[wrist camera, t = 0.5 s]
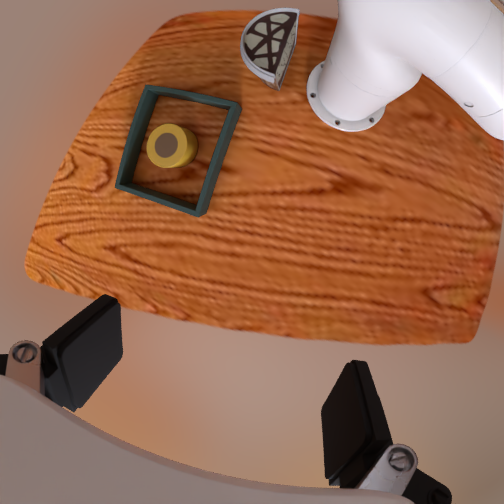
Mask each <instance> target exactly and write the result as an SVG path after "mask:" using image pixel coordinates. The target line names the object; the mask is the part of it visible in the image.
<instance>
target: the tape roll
mask: <svg viewBox="0 0 504 504" xmlns="http://www.w3.org/2000/svg"><path fill="white" fill-rule="evenodd" d="M197 151H198V141H197V138H196V136H195V135H194V134H193V133H192V132H191V131H190V130H188V129H186V128H183V127H180V126H178V125H175V124H163V125H160V126H159V127H157V128H156V129H155V130H154V131H153V132H152V133H151V135H150V136H149V138H148V141H147V154H148V157H149V158H150V160H151V161H152V162H153V163H154V164H155V165H157V166H159V167H165V168H179V167H184V166H186V165H188V164H189V163H191V162H192V161H193V159H194V158H195V156H196V154H197Z"/></svg>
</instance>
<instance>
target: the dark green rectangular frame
mask: <svg viewBox="0 0 504 504" xmlns="http://www.w3.org/2000/svg"><path fill="white" fill-rule="evenodd" d="M158 95H162V96H168V97H173V98H178V99H183V100H188V101H193V102H198V103H202V104H206V105H211V106H215V107H219V108H223V109H227V110H229V112H228V114H227V117H226V120H225V122H224V125H223V128H222V131H221V133H220V136H219V139H218V142H217V145H216V148H215V151H214V153H213V156H212V159H211V162H210V165H209V168H208V171H207V175H206V178H205V181H204V184H203V187H202V190H201V194H200V197H199V200H198V203H197V205H195V204H192V203H189V202H187V201H184V200H181V199H178V198H175V197H172V196H169V195H166V194H163V193H160V192H157V191H155V190H152V189H149V188H146V187H143V186H140V185H137V184H134V183H132V179H133V175H134V171H135V167H136V164H137V160H138V156H139V153H140V149H141V146H142V143H143V139H144V136H145V133H146V130H147V127H148V124H149V121H150V118H151V115H152V112H153V109H154V106H155V103H156V101H157V98H158ZM241 110H242V108H241V107H240V106H239V104H238V103H237V102H233V101H229V100H225V99H221V98H217V97H213V96H208V95H204V94H199V93H194V92H189V91H184V90H178V89H173V88H167V87H160V86H153V85H145V88H144V90H143V93H142V96H141V98H140V101H139V104H138V107H137V109H136V112H135V115H134V118H133V121H132V125H131V128H130V131H129V134H128V138H127V141H126V144H125V148H124V152H123V155H122V159H121V163H120V167H119V171H118V175H117V179H116V184H115V188H117V189H120V190H123V191H126V192H128V193H131V194H134V195H137V196H140V197H143V198H145V199H148V200H151V201H154V202H157V203H160V204H162V205H165V206H168V207H171V208H174V209H176V210H179V211H182V212H185V213H187V214H190V215H193V216H196V217H200V216H202V215H204V214H206V213H207V209H208V206H209V203H210V200H211V197H212V194H213V190H214V187H215V184H216V181H217V178H218V175H219V172H220V169H221V166H222V163H223V160H224V157H225V154H226V152H227V149H228V146H229V143H230V140H231V137H232V135H233V132H234V129H235V126H236V124H237V121H238V118H239V116H240V113H241Z"/></svg>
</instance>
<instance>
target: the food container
mask: <svg viewBox="0 0 504 504" xmlns="http://www.w3.org/2000/svg"><path fill="white" fill-rule="evenodd" d="M299 15H300V11H299V9H295V8H276V9H271V10H268V11H265V12H263V13H261V14H259V15H257V16H256V17H254V18H253V19H252V20H251V21H250V22H249V23H248V25H247V26H246V27H245V29H244V31H243V33H242V36H241V43H240V51H241V56H242V59H243V61H244V62H245V64H246V65H247V67H248V68H249V69H250V70H251V71H252V72H253V73H254V74H256V75H257V76H259V77H260V79H261V80H262V81H263V82H264V83H265V84H266V85H267V86H269V87H270V88H272V89H275V90H277V91H280V88H281V85H282V82H283V79H284V76H285V73H286V71H287V68H288V65H289V62H290V59H291V57H292V54H293V51H294V48H295V45H296V38H297V28H298V17H299Z"/></svg>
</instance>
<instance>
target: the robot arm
mask: <svg viewBox="0 0 504 504" xmlns="http://www.w3.org/2000/svg"><path fill="white" fill-rule="evenodd" d="M499 1H500V2H501V3H502V4H503V5H504V0H499ZM322 67H323V69H322ZM422 73H423V74H424V75H425V76H427V77H429V78H430V79H431V80H432V81H434V82H435V83H436V84H437V85H438V86H439V87H441V88H442V89H443V90H444V91H445V92H446V93H447V94H448V95H449V96H450V97H452V98H453V99H454V100H455V101H456V102H457V103H458V104H459V105H460V106H461V107H462V108H463V109H464V110H465V111H466V112H467V113H468V114H469V115H470V116H471V117H472V118H473V119H474V120H475V121H476V122H477V123H478V124H479V125H480V126H481V127H482V128H483V129H484V130H485V131H486V132H488V133H489V134H490V135H492V136H493V137H495V138H497V139H500V140H504V14H503V13H502V12H501V11H500V10H499V9H498V8H497V7H496V6H495V5H494V4H492V3H491V2H490V0H338V21H337V26H336V29H335V33H334V36H333V39H332V42H331V45H330V48H329V51H328V54H327V57H326V60H325V61H323V62H321V63H320V64H318V65H317V66H316V67H315V68H314V69H313V70H312V72H311V74H310V75H309V78H308V81H307V88H306V89H307V97H308V101H309V103H310V105H311V107H312V109H313V111H314V112H315V113H316V115H317V116H318V117H319V118H320V119H321V120H322V121H324V122H325V123H327V124H328V125H330V126H332V127H334V128H336V129H339V130H342V131H349V132H356V131H362V130H365V129H367V128H370V127H371V126H373V125H375V124H376V123H377V122H378V121H379V120H380V119H381V117H382V115H383V113H384V111H385V107H386V104H388V103H389V102H391V101H393V100H394V99H396V98H397V97H399V96H400V95H402V94H403V93H405V92H406V91H408V90H410V89H411V88H412V87H413V86H414V85H415V84H416V83H417V82H418V81H419V79H420V77H421V75H422ZM312 95H313V96H314V98H312V97H311V96H312ZM369 120H371V122H370V121H369ZM335 122H337V123H338V125H336V124H335ZM42 343H43V345H42V346H41V347H39V345H38V344H36V343H35V342H32V341H28V340H25V341H20V342H17V343H16V344H14V345H13V346H12V347H11V348H10V351H9V354H0V504H451V501H452V495H451V492H450V490H449V489H448V488H447V487H446V486H445V485H443V484H441V483H440V482H438V481H436V480H435V479H433V478H432V477H430V476H428V475H427V474H425V473H424V472H422V471H420V470H419V469H417V465H418V458H417V455H416V453H415V452H414V451H413V449H411V448H410V447H409V446H406V445H404V444H393V442H392V438H391V434H390V431H389V428H388V424H387V420H386V417H385V414H384V410H383V407H382V404H381V401H380V398H379V396H378V394H377V391H376V388H375V385H374V382H373V379H372V376H371V373H370V370H369V367H368V364H367V362H365V361H358V360H352V361H351V362H350V363H347V364H346V365H345V367H344V369H343V371H342V372H341V374H340V376H339V378H338V380H337V382H336V384H335V385H334V387H333V389H332V391H331V393H330V394H329V396H328V398H327V400H326V401H325V403H324V405H323V406H322V410H321V417H322V418H321V419H322V432H323V447H324V466H325V477H326V479H329V485H330V486H334V485H335V486H336V485H337V486H340V488H315V487H299V486H288V485H279V484H271V483H264V482H257V481H251V480H246V479H241V478H236V477H231V476H226V475H222V474H218V473H214V472H210V471H205V470H202V469H198V468H195V467H192V466H188V465H185V464H182V463H179V462H176V461H173V460H170V459H167V458H164V457H162V456H159V455H156V454H153V453H151V452H148V451H146V450H143V449H141V448H139V447H136V446H134V445H132V444H129V443H127V442H125V441H122V440H121V439H119V438H116V437H114V436H112V435H110V434H108V433H106V432H104V431H102V430H100V429H98V428H96V427H95V426H93V425H91V424H89V423H87V422H86V421H84V420H82V419H81V418H79V417H77V416H75V415H74V414H72V413H70V412H69V411H67V410H65V409H64V408H62V407H63V406H64V407H66V408H68V409H69V410H71V411H73V412H75V411H76V409H77V408H81V407H82V406H83V405H84V404H85V403H86V402H87V400H88V399H89V398H90V396H91V395H92V394H93V393H94V391H95V390H96V389H97V388H98V387H99V385H100V384H101V383H102V381H103V380H104V379H105V378H106V377H107V375H108V374H109V373H110V372H111V371H112V369H113V368H114V367H115V366H116V364H117V363H118V362H119V361H120V360H121V358H122V355H123V348H122V331H121V307H120V304H119V303H118V300H117V299H116V298H114V297H111V296H109V295H106V294H104V295H102V296H101V297H99V298H98V299H97V300H95V301H94V302H93V303H91V304H90V305H89V306H87V307H86V308H85V309H83V310H82V311H81V312H79V313H78V314H77V315H76V316H74V317H73V318H72V319H70V320H69V321H68V322H67V323H65V324H64V325H63V326H62V327H60V328H59V329H58V330H57V331H55V332H54V333H53V334H52V335H50V336H49V337H48V338H47V339H45V341H43V342H42Z"/></svg>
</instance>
